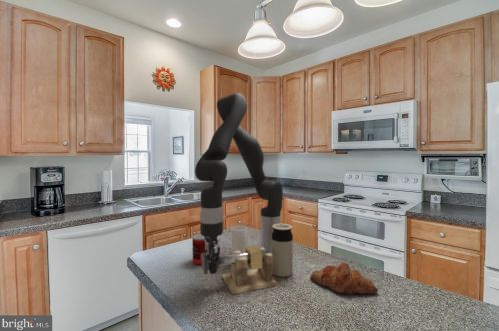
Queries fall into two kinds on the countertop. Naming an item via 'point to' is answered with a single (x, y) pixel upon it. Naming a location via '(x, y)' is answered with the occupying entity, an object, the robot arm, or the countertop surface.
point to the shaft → (225, 259)
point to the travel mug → (282, 250)
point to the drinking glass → (239, 238)
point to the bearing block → (249, 275)
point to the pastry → (343, 280)
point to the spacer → (254, 257)
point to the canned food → (198, 248)
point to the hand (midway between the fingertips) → (211, 270)
